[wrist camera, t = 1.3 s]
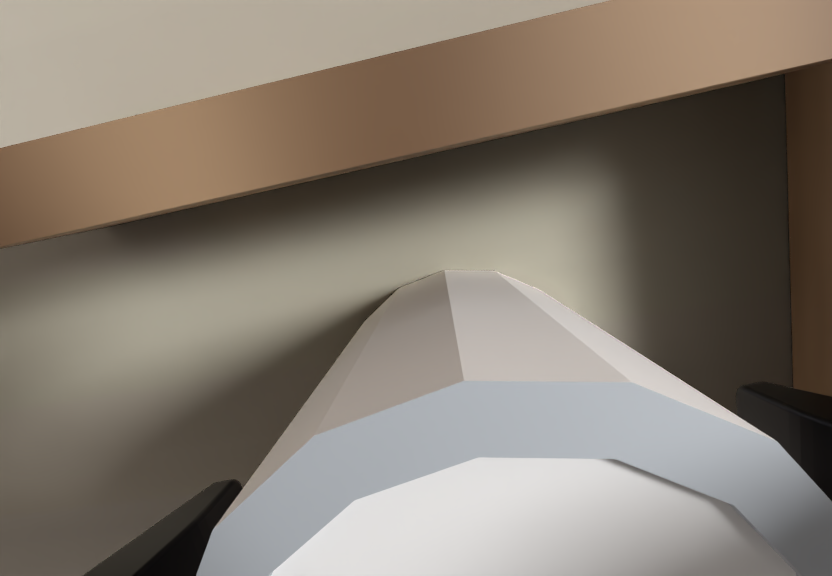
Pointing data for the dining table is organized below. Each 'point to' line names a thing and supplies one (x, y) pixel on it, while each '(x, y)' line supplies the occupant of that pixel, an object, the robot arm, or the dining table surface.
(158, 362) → the dining table surface
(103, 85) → the dining table surface
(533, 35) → the brown wooden u-shaped piece
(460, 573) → the white cup
